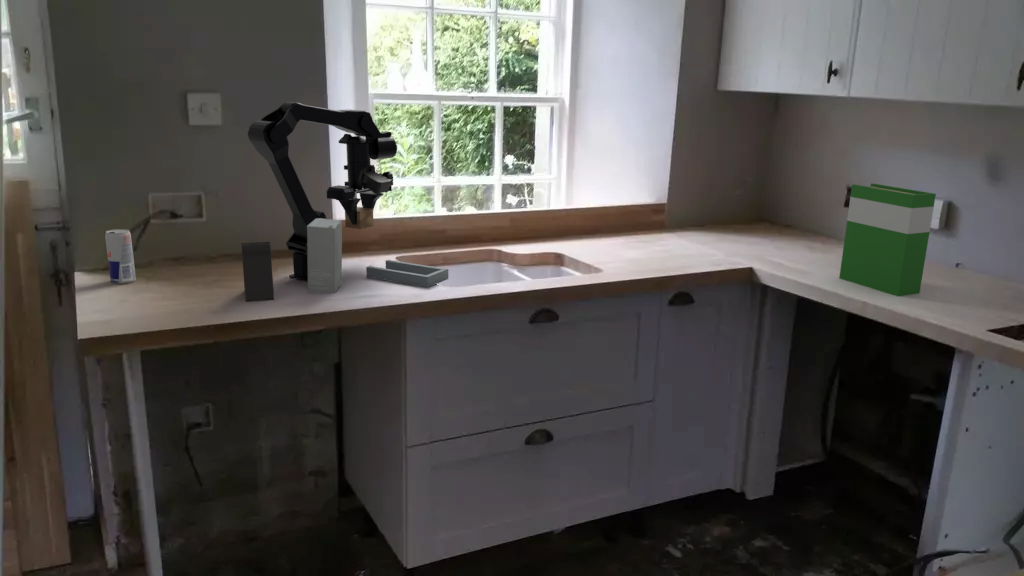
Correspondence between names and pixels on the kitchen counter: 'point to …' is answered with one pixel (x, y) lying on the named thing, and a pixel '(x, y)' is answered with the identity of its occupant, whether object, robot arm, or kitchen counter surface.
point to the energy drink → (120, 256)
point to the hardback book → (887, 238)
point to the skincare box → (324, 255)
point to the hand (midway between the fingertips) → (361, 222)
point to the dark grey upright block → (257, 271)
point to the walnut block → (361, 218)
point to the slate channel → (408, 273)
